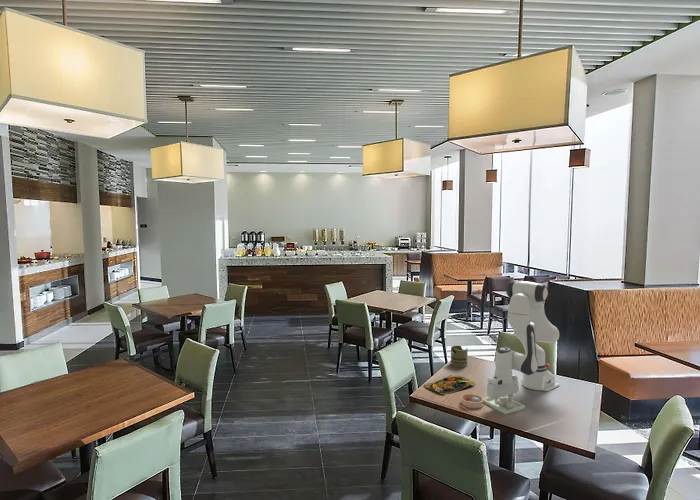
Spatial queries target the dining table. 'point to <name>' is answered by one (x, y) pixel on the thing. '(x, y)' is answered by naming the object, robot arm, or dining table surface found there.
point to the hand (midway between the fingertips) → (503, 402)
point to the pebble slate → (475, 399)
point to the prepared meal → (449, 384)
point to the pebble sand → (502, 401)
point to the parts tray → (491, 403)
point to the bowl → (467, 401)
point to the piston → (459, 356)
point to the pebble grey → (509, 404)
